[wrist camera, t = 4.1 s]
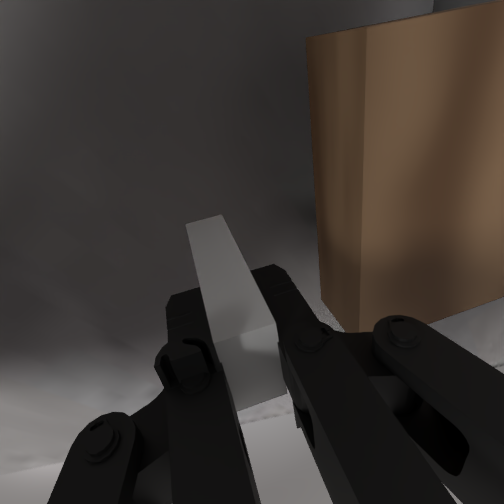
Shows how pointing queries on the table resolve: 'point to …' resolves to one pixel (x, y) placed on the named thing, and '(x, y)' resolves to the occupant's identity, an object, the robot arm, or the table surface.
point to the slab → (409, 165)
